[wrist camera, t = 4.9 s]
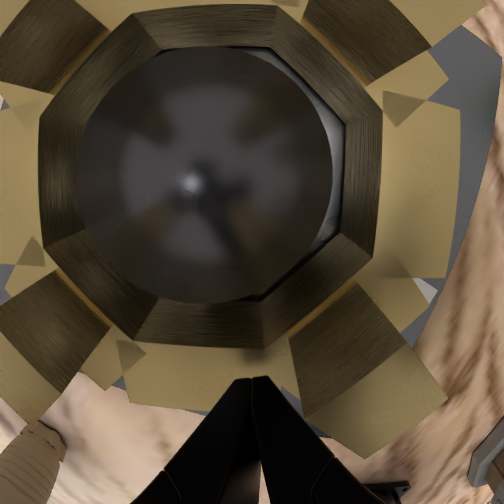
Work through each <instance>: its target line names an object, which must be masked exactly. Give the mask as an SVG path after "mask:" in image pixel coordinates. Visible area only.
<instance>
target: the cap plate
mask: <svg viewBox="0 0 504 504" xmlns="http://www.w3.org/2000/svg"><path fill="white" fill-rule="evenodd" d="M427 51H428V52H429V54H430V55H431V56H432V57H433V59H434V60H435V61H436V62H437V64H438V65H439V66H440V68H441V69H442V70H443V72H444V73H445V74H446V76H447V77H448V78H449V80H448V81H447V82H445V83H444V84H443V85H442V86H441V87H440V88H439V89H438V90H437V91H436V92H435V93H434V94H432V95H431V96H430V97H429V98H428V99H427V101H430V102H434V103H438V104H441V105H445V106H448V107H451V108H455V109H458V110H460V169H459V185H458V197H457V207H456V216H455V224H454V231H453V238H452V244H451V250H450V256H449V262H448V267H447V272H446V277H445V278H412V279H413V280H414V282H415V283H416V285H417V286H418V288H419V289H420V291H421V292H422V294H423V295H424V297H425V298H426V300H427V301H428V303H429V305H430V306H429V307H428V308H427V309H426V310H425V311H424V312H423V313H422V314H420V315H419V316H418V317H417V318H416V319H415V320H414V321H413V322H412V323H411V324H410V325H408V326H407V327H406V328H405V329H404V330H403V331H402V332H401V333H400V334H401V335H402V336H403V338H404V339H405V340H406V341H407V343H408V344H409V345H410V347H411V348H413V346H414V345H415V343H416V341H417V339H418V337H419V335H420V334H421V332H422V330H423V328H424V326H425V324H426V322H427V320H428V318H429V316H430V314H431V312H432V310H433V308H434V306H435V304H436V302H437V300H438V298H439V295H440V293H441V291H442V289H443V287H444V284H445V282H446V280H447V278H448V275H449V273H450V271H451V268H452V266H453V263H454V261H455V258H456V256H457V253H458V251H459V248H460V246H461V243H462V240H463V237H464V235H465V232H466V229H467V226H468V223H469V220H470V217H471V214H472V211H473V208H474V205H475V202H476V198H477V195H478V192H479V188H480V185H481V181H482V177H483V173H484V169H485V165H486V161H487V157H488V153H489V148H490V143H491V139H492V134H493V128H494V123H495V117H496V110H497V104H498V96H499V88H500V79H501V67H502V57H501V56H500V55H499V54H498V53H497V52H495V51H494V50H493V49H492V48H491V47H489V46H488V45H487V44H486V43H484V42H483V41H482V40H481V39H479V38H478V37H477V36H475V35H474V34H473V33H471V32H470V31H469V30H467V29H466V28H465V27H463V26H462V25H460V26H458V27H457V28H456V29H455V30H453V31H452V32H451V33H449V34H448V35H447V36H446V37H444V38H443V39H442V40H440V41H439V42H438V43H437V44H435V45H434V46H433V47H431V48H430V49H428V50H427ZM8 108H10V107H9V105H8V104H7V102H6V101H5V100H3V104H2V107H1V111H2V110H5V109H8ZM345 148H346V124H345V123H344V122H343V121H342V119H341V118H340V117H339V116H338V115H337V114H336V113H335V112H334V110H333V109H332V108H331V107H330V106H329V105H328V104H327V103H326V102H325V101H324V100H323V98H322V97H321V96H320V95H319V94H318V93H317V92H316V91H315V90H314V89H313V88H312V87H311V86H310V85H309V84H308V83H307V82H306V81H305V80H304V79H303V78H302V77H301V76H300V75H299V74H298V73H297V72H296V71H295V70H294V69H293V68H292V67H291V66H290V65H289V64H288V63H287V62H286V61H285V60H284V59H283V58H282V57H280V56H279V55H278V54H277V53H276V52H275V51H274V50H273V49H272V48H271V47H262V46H200V47H186V48H173V49H162V50H161V51H160V52H158V53H157V54H156V55H155V56H154V57H153V58H151V59H149V60H148V61H146V62H144V63H142V64H140V65H138V66H137V67H135V68H134V69H132V70H131V71H130V72H128V73H127V74H125V75H124V76H123V77H122V78H121V79H120V80H119V81H118V82H116V83H115V84H114V85H113V86H112V87H111V88H110V89H109V91H108V92H107V93H106V94H105V95H104V97H103V98H102V99H101V100H100V102H99V103H98V105H97V107H96V108H95V110H94V111H93V113H92V115H91V117H90V119H89V121H88V123H87V125H86V127H85V130H84V133H83V136H82V139H81V142H80V145H79V150H78V155H77V161H76V193H77V198H78V204H79V209H80V212H81V215H82V218H83V221H84V224H85V226H86V229H87V231H88V233H89V235H90V237H91V239H92V241H93V242H94V244H95V245H96V247H97V249H98V250H99V252H100V253H101V254H102V255H103V257H104V258H105V259H106V260H107V261H108V263H109V264H110V265H111V266H112V267H113V268H114V269H115V270H117V271H118V272H119V273H120V274H121V275H122V276H123V277H125V278H126V279H128V280H129V281H130V282H132V283H133V284H135V285H136V286H138V287H140V288H142V289H144V290H145V291H147V292H150V293H152V294H154V295H157V296H159V297H160V298H166V299H169V300H173V301H177V302H184V303H192V304H212V303H221V302H227V301H252V302H261V301H263V300H264V299H265V298H266V297H267V296H268V295H270V294H271V293H272V292H273V291H274V290H275V289H277V288H278V287H279V286H280V285H281V284H282V283H284V282H285V281H286V280H287V279H288V278H289V277H290V276H292V275H293V274H294V273H295V272H296V271H297V270H298V269H300V268H301V267H302V266H303V265H304V264H305V263H306V262H308V261H309V260H310V259H311V258H312V257H313V256H314V255H315V254H317V253H318V252H319V251H320V250H321V249H322V248H323V247H324V246H326V245H327V244H328V243H329V242H330V241H331V240H332V239H333V238H334V237H335V236H337V235H338V234H339V233H340V229H341V217H342V204H343V189H344V172H345ZM15 266H16V265H12V264H0V306H1V305H2V304H4V303H5V302H7V301H8V300H10V299H11V298H12V297H11V296H10V295H9V293H8V292H7V291H6V290H5V286H6V284H7V282H8V280H9V278H10V276H11V274H12V272H13V270H14V268H15ZM79 372H81V373H84V372H83V371H82V370H80V369H79ZM84 374H85V373H84ZM112 386H115V387H118V388H120V389H123V390H126V391H127V389H126V385H125V381H124V376H123V375H122V376H121V377H120V378H119V379H118V380H117V381H115V382H114V383H113V384H112ZM281 392H282V393H283V395H284V396H285V397H286V398H287V400H288V401H289V402H290V403H291V404H292V406H293V407H294V408H295V409H296V411H297V412H298V413H299V414H300V415H301V417H302V418H303V419H304V414H303V409H302V404H301V400H299V399H298V398H297V397H295V396H294V395H293V394H292V393H290V392H289V391H288V390H286V389H285V388H284V387H283V386H281ZM183 410H185V409H183ZM186 411H190V412H193V413H197V414H201V415H205V416H207V414H208V413H209V412H210V411H197V410H186ZM304 420H305V421H306V423H307V424H308V425H309V426H310V427H311V429H312V430H313V431H314V432H315V433H316V434H317V436H318V437H324V438H331V437H330V436H329V435H327V434H326V433H324V432H323V431H321V430H320V429H318V428H317V427H315V426H314V425H313V424H311V423H310V422H308V421H307V420H306V419H304Z"/></svg>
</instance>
